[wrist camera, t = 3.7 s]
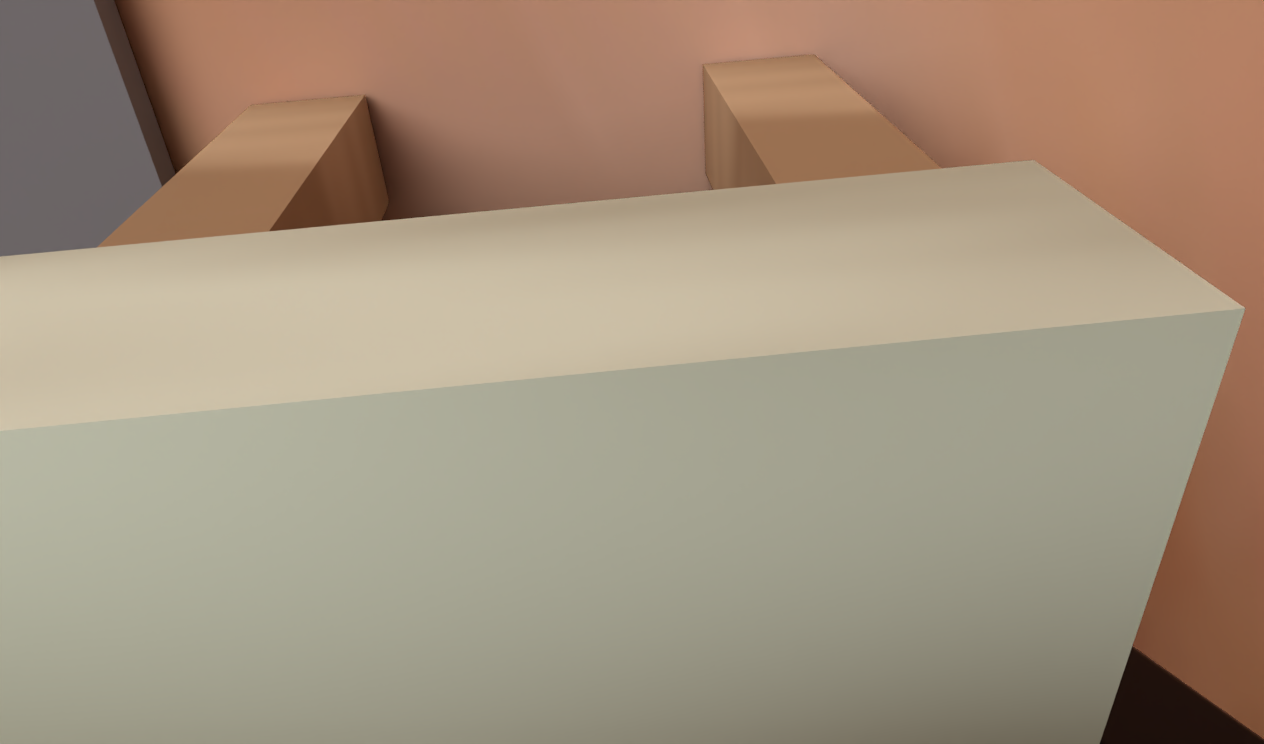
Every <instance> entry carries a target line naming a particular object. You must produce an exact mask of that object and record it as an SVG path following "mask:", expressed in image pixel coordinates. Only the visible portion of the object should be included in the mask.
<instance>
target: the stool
mask: <svg viewBox="0 0 1264 744" xmlns="http://www.w3.org/2000/svg"><path fill="white" fill-rule="evenodd" d="M703 94H704V132H705V169H706V175H707V177H708V179H709V182H710V184H711V186H712V189H713V190H707V191H696V192H686V193H675V194H664V195H654V196H643V197H632V198H621V199H611V200H600V201H589V202H579V203H568V204H557V205H547V206H536V207H525V208H515V209H504V210H493V211H482V212H472V213H461V214H450V215H440V216H429V217H418V218H408V219H397V220H386V221H381V220H382V218H383V215H384V213H385V211H386V208H387V206H388V204H389V199H388V194H387V190H386V185H385V181H384V177H383V172H382V168H381V163H380V159H379V155H378V150H377V146H376V141H375V137H374V132H373V128H372V124H371V119H370V115H369V110H368V106H367V102H366V97H365V95H357V96H345V97H334V98H323V99H312V100H301V101H290V102H279V103H267V104H256V105H250V106H249V107H248V108H247V109H246V110H245V111H244V112H243V113H242V114H241V115H240V116H238V117H237V118H236V119H235V120H234V121H233V122H232V123H231V124H230V125H229V126H228V127H227V128H225V129H224V130H223V131H222V132H221V133H220V134H219V135H218V136H217V137H216V138H215V139H214V140H212V141H211V142H210V143H209V144H208V145H207V146H206V147H205V148H204V149H203V150H202V151H201V152H199V153H198V154H197V155H196V156H195V157H194V158H193V159H192V160H191V161H190V162H189V163H188V164H186V165H185V166H184V167H183V168H182V169H181V170H180V171H179V172H178V173H177V174H176V175H175V176H173V177H172V178H171V179H170V180H169V181H168V182H167V183H166V184H165V185H164V186H163V187H162V188H160V189H159V190H158V191H157V192H156V193H155V194H154V195H153V196H152V197H151V198H150V199H149V200H147V201H146V202H145V203H144V204H143V205H142V206H141V207H140V208H139V209H138V210H137V211H136V212H134V213H133V214H132V215H131V216H130V217H129V218H128V219H127V220H126V221H125V222H124V223H123V224H121V225H120V226H119V227H118V228H117V229H116V230H115V231H114V232H113V233H112V234H111V235H110V236H108V237H107V238H106V239H105V240H104V241H103V242H102V243H101V244H100V245H99V246H98V247H97V248H87V249H76V250H65V251H55V252H44V253H33V254H23V255H12V256H1V257H0V744H1100V741H1101V738H1102V735H1103V732H1104V729H1105V726H1106V723H1107V720H1108V717H1109V714H1110V711H1111V708H1112V705H1113V702H1114V699H1115V696H1116V693H1117V690H1118V687H1119V684H1120V681H1121V678H1122V675H1123V672H1124V669H1125V666H1126V663H1127V660H1128V657H1129V654H1130V651H1131V648H1132V645H1133V642H1134V639H1135V636H1136V633H1137V630H1138V627H1139V624H1140V622H1141V619H1142V616H1143V613H1144V610H1145V607H1146V604H1147V601H1148V598H1149V595H1150V592H1151V589H1152V586H1153V583H1154V580H1155V577H1156V574H1157V571H1158V568H1159V565H1160V562H1161V559H1162V556H1163V553H1164V550H1165V547H1166V544H1167V541H1168V538H1169V535H1170V532H1171V529H1172V526H1173V523H1174V520H1175V517H1176V514H1177V511H1178V508H1179V505H1180V502H1181V499H1182V496H1183V493H1184V490H1185V487H1186V484H1187V481H1188V478H1189V475H1190V472H1191V469H1192V466H1193V463H1194V460H1195V457H1196V454H1197V451H1198V448H1199V445H1200V442H1201V439H1202V436H1203V434H1204V431H1205V428H1206V425H1207V422H1208V419H1209V416H1210V413H1211V410H1212V407H1213V404H1214V401H1215V398H1216V395H1217V392H1218V389H1219V386H1220V383H1221V380H1222V377H1223V374H1224V371H1225V368H1226V365H1227V362H1228V359H1229V356H1230V353H1231V350H1232V347H1233V344H1234V341H1235V338H1236V335H1237V332H1238V329H1239V326H1240V323H1241V320H1242V317H1243V314H1244V311H1245V308H1244V307H1243V306H1241V305H1240V304H1238V303H1237V302H1236V301H1234V300H1233V299H1231V298H1230V297H1228V296H1227V295H1226V294H1224V293H1223V292H1221V291H1220V290H1219V289H1217V288H1216V287H1214V286H1213V285H1211V284H1210V283H1209V282H1207V281H1206V280H1204V279H1203V278H1201V277H1200V276H1199V275H1197V274H1196V273H1194V272H1193V271H1191V270H1190V269H1189V268H1187V267H1186V266H1184V265H1183V264H1181V263H1180V262H1179V261H1177V260H1176V259H1174V258H1173V257H1171V256H1170V255H1169V254H1167V253H1166V252H1164V251H1163V250H1161V249H1160V248H1159V247H1157V246H1156V245H1154V244H1153V243H1151V242H1150V241H1149V240H1147V239H1146V238H1144V237H1143V236H1142V235H1140V234H1139V233H1137V232H1136V231H1134V230H1133V229H1132V228H1130V227H1129V226H1127V225H1126V224H1124V223H1123V222H1122V221H1120V220H1119V219H1117V218H1116V217H1114V216H1113V215H1112V214H1110V213H1109V212H1107V211H1106V210H1104V209H1103V208H1102V207H1100V206H1099V205H1097V204H1096V203H1094V202H1093V201H1092V200H1090V199H1089V198H1087V197H1086V196H1084V195H1083V194H1082V193H1080V192H1079V191H1077V190H1076V189H1074V188H1073V187H1072V186H1070V185H1069V184H1067V183H1066V182H1065V181H1063V180H1062V179H1060V178H1059V177H1057V176H1056V175H1055V174H1053V173H1052V172H1050V171H1049V170H1047V169H1046V168H1045V167H1043V166H1042V165H1040V164H1039V163H1037V162H1036V161H1035V160H1028V161H1017V162H1006V163H996V164H985V165H974V166H964V167H953V168H941V167H940V166H939V165H938V164H936V163H935V162H934V161H933V160H932V159H931V158H930V157H929V156H927V155H926V154H925V153H924V152H923V151H922V150H921V149H920V148H918V147H917V146H916V145H915V144H914V143H913V142H912V141H911V140H909V139H908V138H907V137H906V136H905V135H904V134H903V133H902V132H900V131H899V130H898V129H897V128H896V127H895V126H894V125H893V124H891V123H890V122H889V121H888V120H887V119H886V118H885V117H884V116H882V115H881V114H880V113H879V112H878V111H877V110H876V109H875V108H873V107H872V106H871V105H870V104H869V103H868V102H867V101H866V100H864V99H863V98H862V97H861V96H860V95H859V94H858V93H857V92H855V91H854V90H853V89H852V88H851V87H850V86H849V85H848V84H846V83H845V82H844V81H843V80H842V79H841V78H840V77H839V76H837V75H836V74H835V73H834V72H833V71H832V70H831V69H830V68H828V67H827V66H826V65H825V64H824V63H823V62H822V61H821V60H820V59H818V58H817V57H816V56H815V55H814V54H813V55H802V56H791V57H780V58H769V59H757V60H746V61H735V62H724V63H713V64H703Z"/></svg>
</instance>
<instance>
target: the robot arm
mask: <svg viewBox="0 0 1264 744" xmlns="http://www.w3.org/2000/svg"><path fill="white" fill-rule="evenodd" d="M1100 744H1264V739H1263V738H1261V737H1260V736H1259V735H1257V734H1256V733H1254V732H1253V731H1252V730H1250V729H1249V728H1247V727H1246V726H1245V725H1243V724H1242V723H1240V722H1239V721H1237V720H1236V719H1235V718H1233V717H1232V716H1230V715H1229V714H1228V713H1226V712H1225V711H1223V710H1222V709H1221V708H1219V707H1218V706H1216V705H1215V704H1214V703H1212V702H1211V701H1209V700H1208V699H1206V698H1205V697H1204V696H1202V695H1201V694H1199V693H1198V692H1197V691H1195V690H1194V689H1192V688H1191V687H1190V686H1188V685H1187V684H1185V683H1184V682H1182V681H1181V680H1180V679H1178V678H1177V677H1175V676H1174V675H1173V674H1171V673H1170V672H1168V671H1167V670H1166V669H1164V668H1163V667H1161V666H1160V665H1158V664H1157V663H1156V662H1154V661H1153V660H1151V659H1150V658H1149V657H1147V656H1146V655H1144V654H1143V653H1142V652H1140V651H1139V650H1137V649H1136V648H1135V647H1133V646H1132V648H1131V651H1130V654H1129V657H1128V660H1127V663H1126V666H1125V669H1124V672H1123V675H1122V678H1121V681H1120V684H1119V687H1118V690H1117V693H1116V696H1115V699H1114V702H1113V705H1112V708H1111V711H1110V714H1109V717H1108V720H1107V723H1106V726H1105V729H1104V732H1103V735H1102V738H1101V741H1100Z"/></svg>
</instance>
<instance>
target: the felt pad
mask: <svg viewBox="0 0 1264 744" xmlns="http://www.w3.org/2000/svg"><path fill="white" fill-rule="evenodd" d="M175 175H176V174H175V171H174V168H173V165H172V162H171V159H170V157H169V154H168V151H167V148H166V145H165V142H164V140H163V137H162V134H161V131H160V128H159V126H158V123H157V120H156V117H155V114H154V111H153V109H152V106H151V103H150V100H149V97H148V95H147V92H146V89H145V86H144V83H143V80H142V78H141V75H140V72H139V69H138V66H137V63H136V61H135V58H134V55H133V52H132V49H131V47H130V44H129V41H128V38H127V35H126V32H125V30H124V27H123V24H122V21H121V18H120V16H119V13H118V10H117V7H116V4H115V1H114V0H0V257H1V256H12V255H23V254H33V253H44V252H55V251H65V250H76V249H87V248H97V247H98V246H99V245H100V244H101V243H102V242H103V241H104V240H105V239H106V238H107V237H108V236H110V235H111V234H112V233H113V232H114V231H115V230H116V229H117V228H118V227H119V226H120V225H121V224H123V223H124V222H125V221H126V220H127V219H128V218H129V217H130V216H131V215H132V214H133V213H134V212H136V211H137V210H138V209H139V208H140V207H141V206H142V205H143V204H144V203H145V202H146V201H147V200H149V199H150V198H151V197H152V196H153V195H154V194H155V193H156V192H157V191H158V190H159V189H160V188H162V187H163V186H164V185H165V184H166V183H167V182H168V181H169V180H170V179H171V178H172V177H173V176H175Z"/></svg>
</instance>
